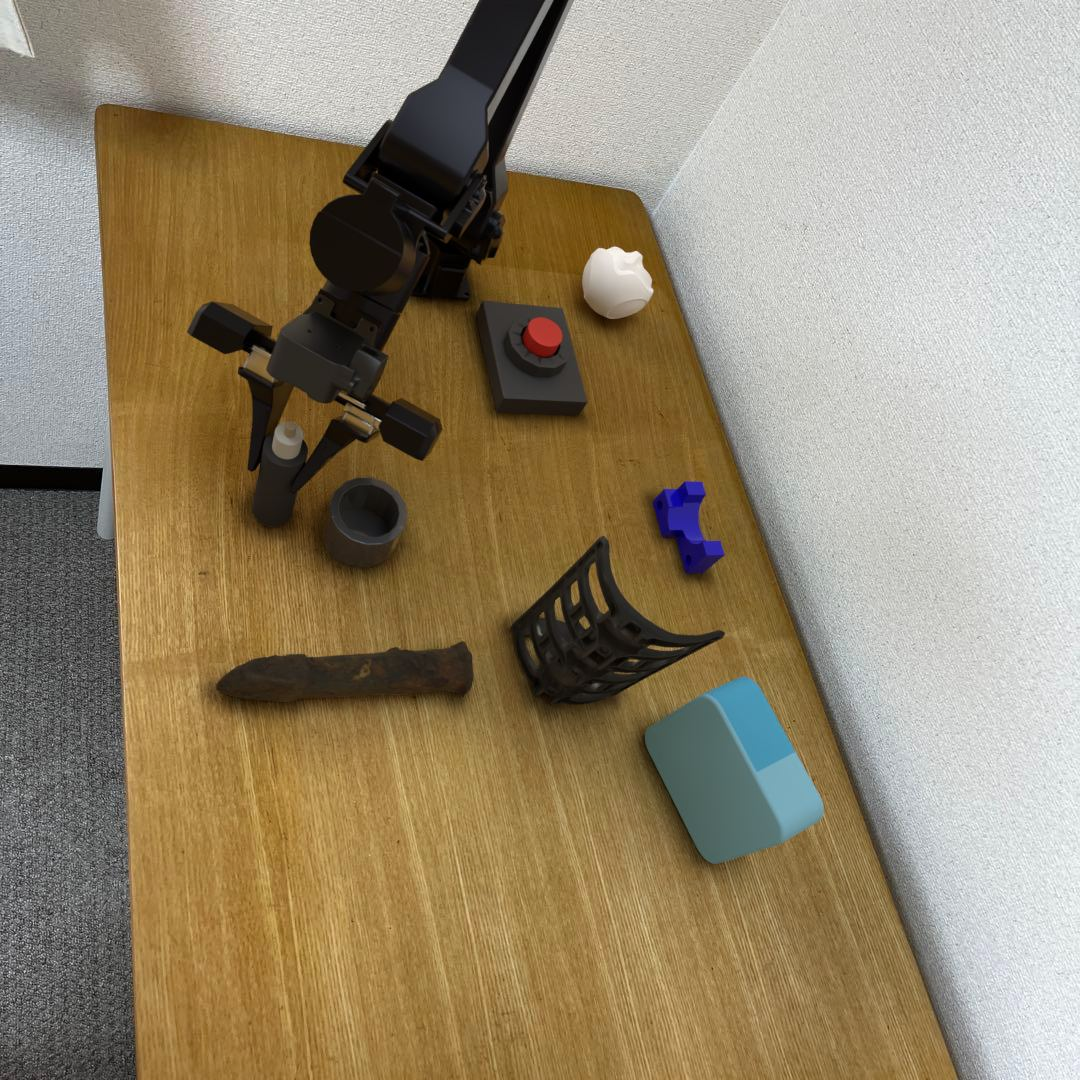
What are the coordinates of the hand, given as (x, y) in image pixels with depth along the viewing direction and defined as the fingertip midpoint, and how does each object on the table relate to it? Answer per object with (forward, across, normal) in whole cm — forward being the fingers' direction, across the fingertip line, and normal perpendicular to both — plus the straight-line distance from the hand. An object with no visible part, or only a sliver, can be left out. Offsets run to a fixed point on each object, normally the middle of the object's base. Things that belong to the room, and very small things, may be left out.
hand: (271, 481), depth 68 cm
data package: (+7, +42, +3) cm, 43 cm away
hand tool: (+12, +12, -2) cm, 17 cm away
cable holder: (-9, +34, +19) cm, 40 cm away
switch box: (-16, +13, +26) cm, 33 cm away
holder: (+5, +28, +5) cm, 29 cm away
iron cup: (+3, +7, +7) cm, 11 cm away
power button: (-19, +13, +24) cm, 33 cm away
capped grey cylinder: (+4, 0, +6) cm, 7 cm away
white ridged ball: (-26, +17, +36) cm, 47 cm away
